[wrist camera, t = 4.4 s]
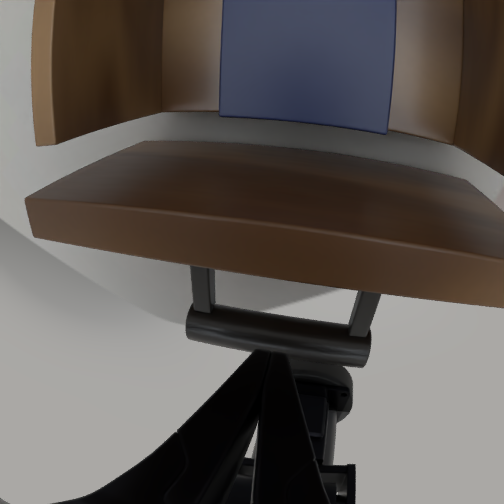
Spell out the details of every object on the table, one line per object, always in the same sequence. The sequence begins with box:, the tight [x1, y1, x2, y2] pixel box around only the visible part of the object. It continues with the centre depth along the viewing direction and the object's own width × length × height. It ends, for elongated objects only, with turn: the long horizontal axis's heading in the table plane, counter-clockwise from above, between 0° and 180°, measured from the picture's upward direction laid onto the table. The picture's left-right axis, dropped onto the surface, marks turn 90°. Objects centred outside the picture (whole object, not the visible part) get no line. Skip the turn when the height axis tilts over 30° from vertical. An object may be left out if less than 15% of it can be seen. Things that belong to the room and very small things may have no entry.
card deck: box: [219, 0, 397, 135], centre depth 7 cm, size 6×4×2 cm
